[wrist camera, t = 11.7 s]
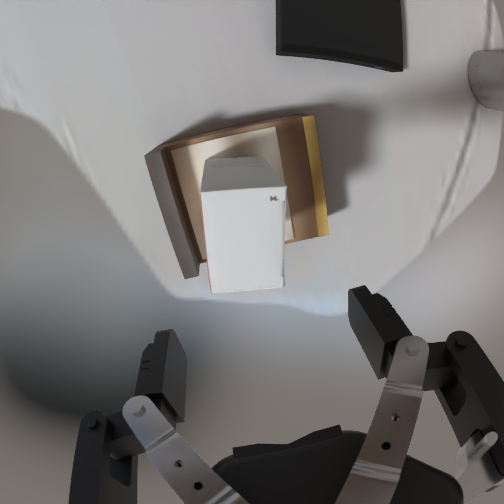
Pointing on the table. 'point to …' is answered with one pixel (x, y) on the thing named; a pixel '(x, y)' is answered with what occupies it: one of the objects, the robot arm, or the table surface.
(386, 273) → the table surface
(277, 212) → the small box
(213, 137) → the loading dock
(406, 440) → the robot arm
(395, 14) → the external hard drive
